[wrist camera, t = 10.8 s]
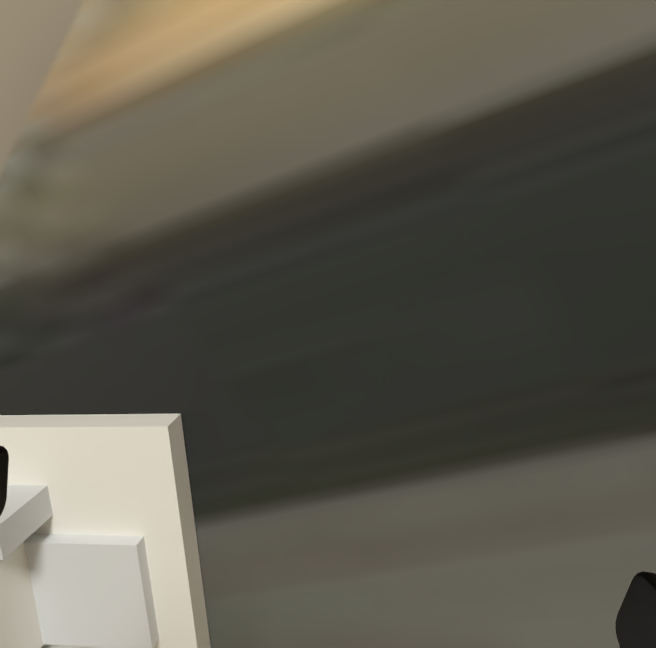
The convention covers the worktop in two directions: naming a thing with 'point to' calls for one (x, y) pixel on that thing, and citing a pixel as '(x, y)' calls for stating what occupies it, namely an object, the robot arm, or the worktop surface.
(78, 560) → the rail mount
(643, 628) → the robot arm
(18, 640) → the block
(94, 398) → the worktop surface
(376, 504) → the worktop surface
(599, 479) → the worktop surface
